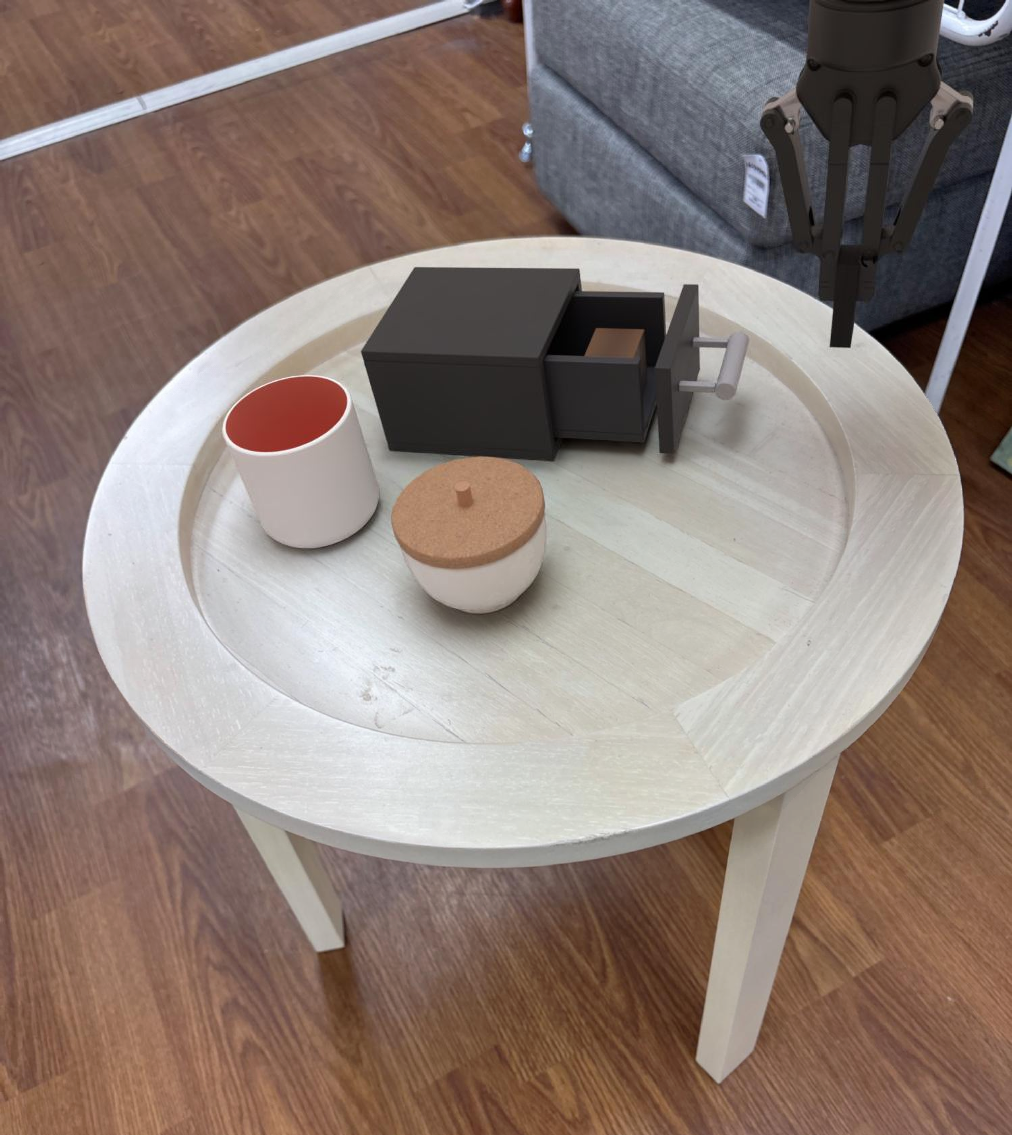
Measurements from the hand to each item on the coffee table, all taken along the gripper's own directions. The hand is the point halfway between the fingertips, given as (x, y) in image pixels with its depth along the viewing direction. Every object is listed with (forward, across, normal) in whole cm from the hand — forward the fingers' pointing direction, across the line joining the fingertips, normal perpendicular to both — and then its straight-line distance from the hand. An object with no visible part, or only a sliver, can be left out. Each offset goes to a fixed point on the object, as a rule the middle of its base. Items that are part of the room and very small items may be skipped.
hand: (841, 336), depth 79 cm
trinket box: (+8, +23, +21) cm, 32 cm away
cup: (+8, +39, +15) cm, 42 cm away
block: (+6, +17, 0) cm, 18 cm away
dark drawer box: (+8, +29, 0) cm, 30 cm away
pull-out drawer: (+7, +16, 0) cm, 18 cm away
